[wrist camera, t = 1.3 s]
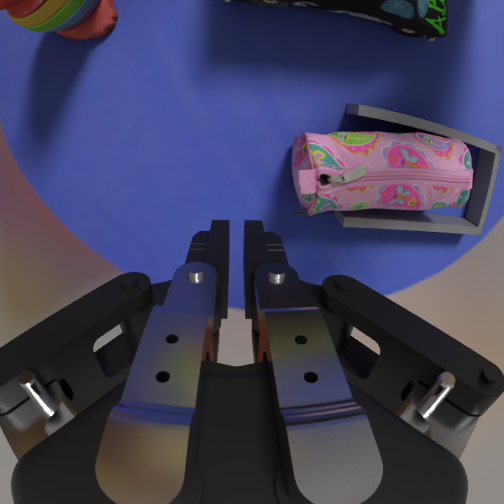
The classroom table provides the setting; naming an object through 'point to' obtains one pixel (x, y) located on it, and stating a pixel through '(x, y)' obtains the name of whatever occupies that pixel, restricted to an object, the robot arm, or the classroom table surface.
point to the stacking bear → (63, 16)
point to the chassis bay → (423, 220)
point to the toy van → (384, 13)
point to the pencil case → (379, 171)
